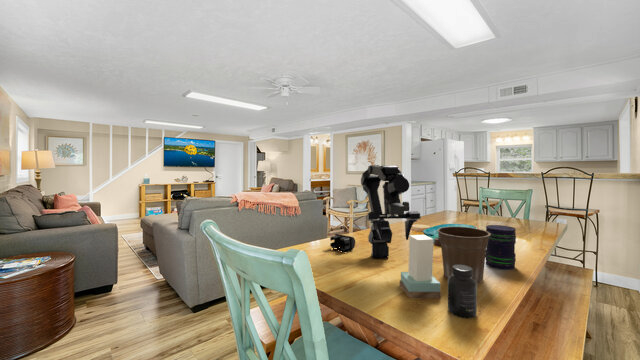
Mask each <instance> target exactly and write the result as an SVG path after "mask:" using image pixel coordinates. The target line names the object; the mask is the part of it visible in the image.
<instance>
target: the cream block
mask: <svg viewBox="0 0 640 360" xmlns="http://www.w3.org/2000/svg"><path fill="white" fill-rule="evenodd" d="M408 240H409V241H408V271H407V272H408V275H409V276H411V277H412V278H413V279H414V280H415V281H429V280H432V275H433V265H434V264H433V263H434V260H433V259H434V238H432V237H430V236H427V235H426V234H412V235H411V234H409V238H408Z"/></svg>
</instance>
